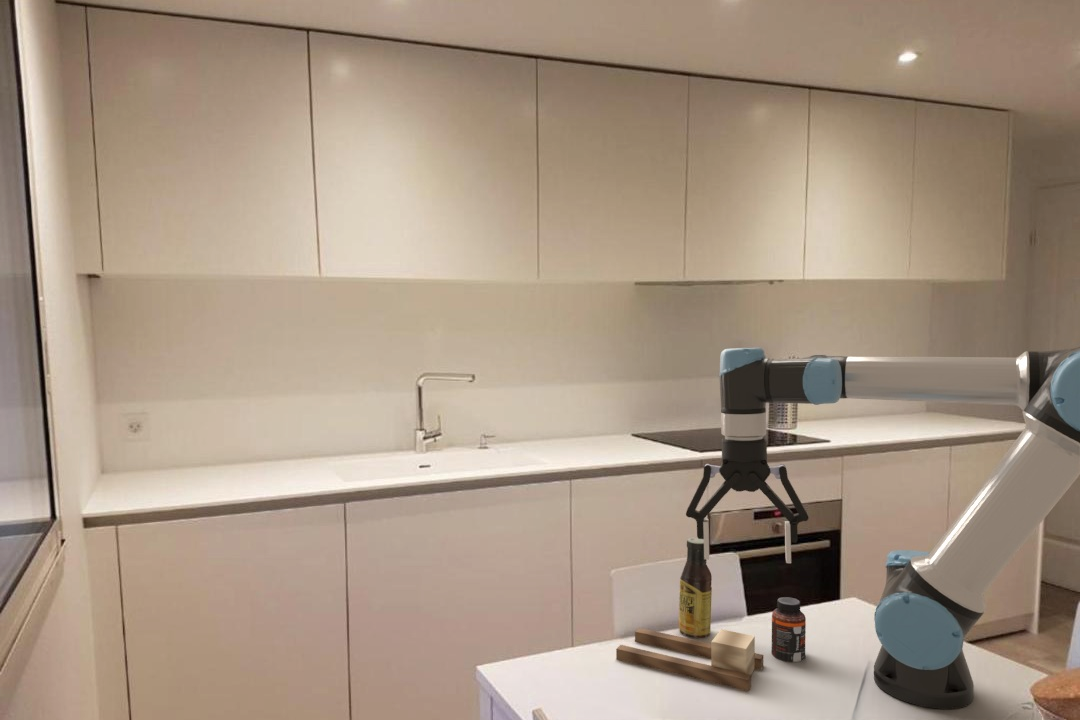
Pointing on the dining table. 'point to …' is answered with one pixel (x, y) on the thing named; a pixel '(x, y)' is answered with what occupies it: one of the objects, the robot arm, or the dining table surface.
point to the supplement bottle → (788, 631)
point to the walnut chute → (682, 665)
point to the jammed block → (733, 651)
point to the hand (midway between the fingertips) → (747, 559)
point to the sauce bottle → (695, 592)
